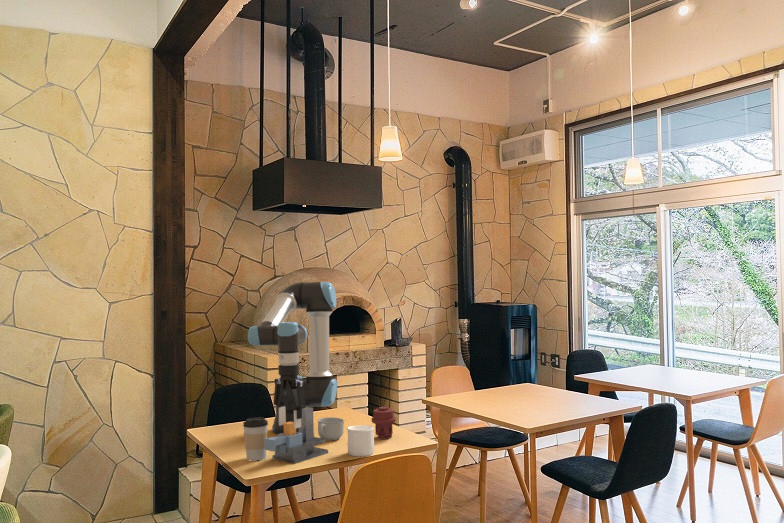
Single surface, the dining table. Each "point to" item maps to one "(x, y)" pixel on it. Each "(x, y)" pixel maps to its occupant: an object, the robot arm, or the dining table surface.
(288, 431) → the orange rectangular block
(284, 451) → the bracket
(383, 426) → the mechanical component
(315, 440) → the grey fixture stand
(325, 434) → the teacup
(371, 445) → the cup
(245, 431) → the coffee cup
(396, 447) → the dining table surface
